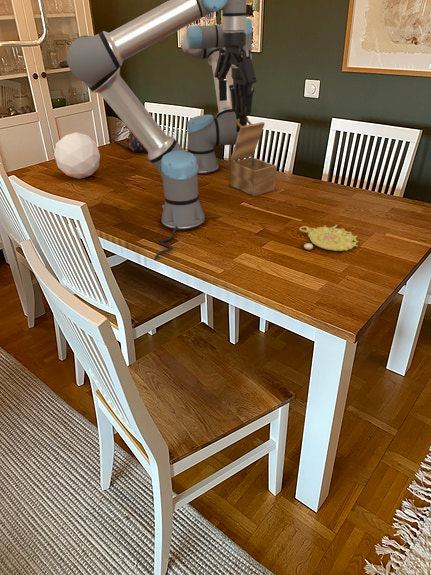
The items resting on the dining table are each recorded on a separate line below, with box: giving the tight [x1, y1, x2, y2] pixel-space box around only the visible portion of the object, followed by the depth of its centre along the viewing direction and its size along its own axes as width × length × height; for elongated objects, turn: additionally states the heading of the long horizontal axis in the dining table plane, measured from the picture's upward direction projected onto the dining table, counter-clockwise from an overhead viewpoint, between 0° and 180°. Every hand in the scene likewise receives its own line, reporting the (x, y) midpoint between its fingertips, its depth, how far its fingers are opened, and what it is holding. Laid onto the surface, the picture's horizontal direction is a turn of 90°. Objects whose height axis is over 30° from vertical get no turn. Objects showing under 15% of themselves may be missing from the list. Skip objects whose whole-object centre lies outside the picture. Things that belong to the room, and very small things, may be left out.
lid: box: [229, 116, 266, 162], centre depth 178 cm, size 16×11×8 cm
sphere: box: [53, 131, 101, 180], centre depth 196 cm, size 19×20×20 cm
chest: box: [230, 156, 277, 197], centre depth 181 cm, size 15×11×10 cm
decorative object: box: [299, 224, 359, 252], centre depth 141 cm, size 21×2×20 cm
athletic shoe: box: [122, 132, 146, 153], centre depth 234 cm, size 11×22×12 cm
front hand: (234, 103), depth 152 cm, fingers open, 13 cm apart
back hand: (241, 131), depth 178 cm, fingers closed on lid, 1 cm apart
